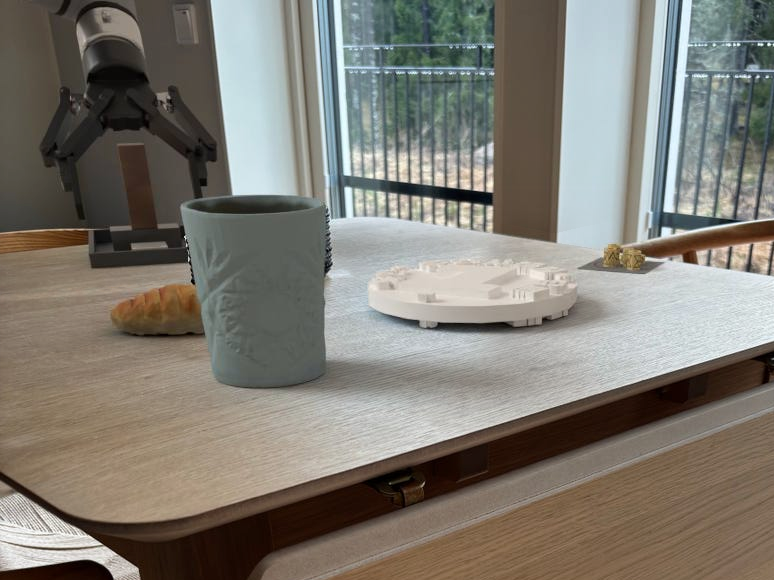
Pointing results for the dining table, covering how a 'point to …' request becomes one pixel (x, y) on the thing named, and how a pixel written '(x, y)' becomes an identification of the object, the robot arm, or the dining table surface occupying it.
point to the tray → (131, 252)
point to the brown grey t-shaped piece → (140, 204)
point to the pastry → (161, 312)
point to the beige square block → (149, 245)
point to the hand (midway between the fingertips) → (141, 209)
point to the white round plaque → (473, 292)
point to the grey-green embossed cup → (260, 286)
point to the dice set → (622, 261)
